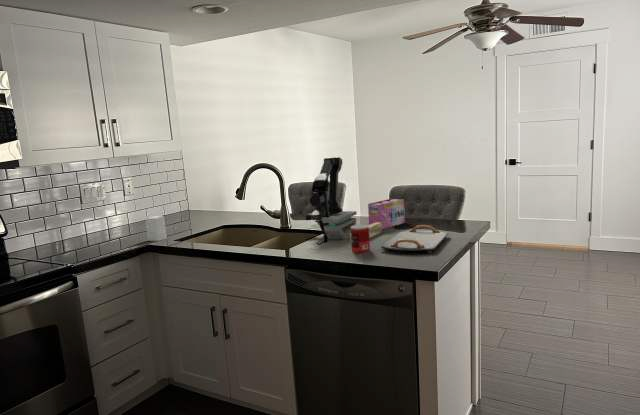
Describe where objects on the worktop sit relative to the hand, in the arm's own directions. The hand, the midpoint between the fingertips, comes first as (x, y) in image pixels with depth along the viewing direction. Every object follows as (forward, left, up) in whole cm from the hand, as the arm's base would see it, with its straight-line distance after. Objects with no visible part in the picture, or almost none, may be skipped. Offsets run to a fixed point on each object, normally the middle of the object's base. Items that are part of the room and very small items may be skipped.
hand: (324, 233), depth 245 cm
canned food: (+33, -26, -1) cm, 42 cm away
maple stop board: (+24, 0, -1) cm, 24 cm away
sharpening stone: (+10, 0, -1) cm, 10 cm away
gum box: (+22, +32, -1) cm, 38 cm away
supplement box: (-90, -29, -1) cm, 95 cm away
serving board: (+51, -8, -2) cm, 52 cm away
